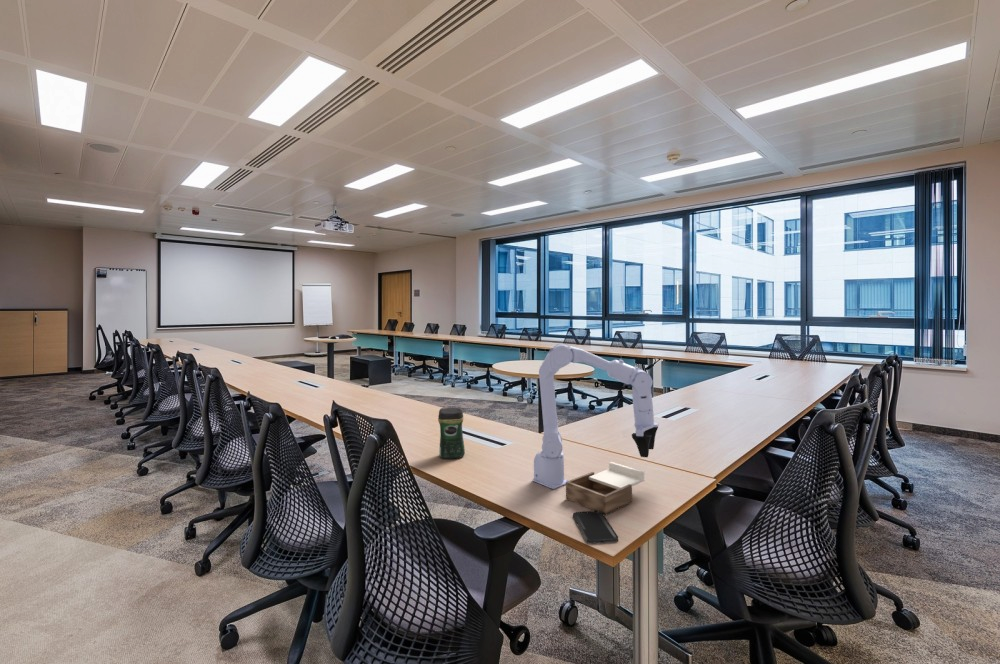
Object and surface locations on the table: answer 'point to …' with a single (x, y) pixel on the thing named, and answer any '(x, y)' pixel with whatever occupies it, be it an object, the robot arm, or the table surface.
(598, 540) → the phone
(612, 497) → the box
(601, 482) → the lid
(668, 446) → the table surface
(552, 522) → the table surface
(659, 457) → the table surface
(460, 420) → the coffee jar
